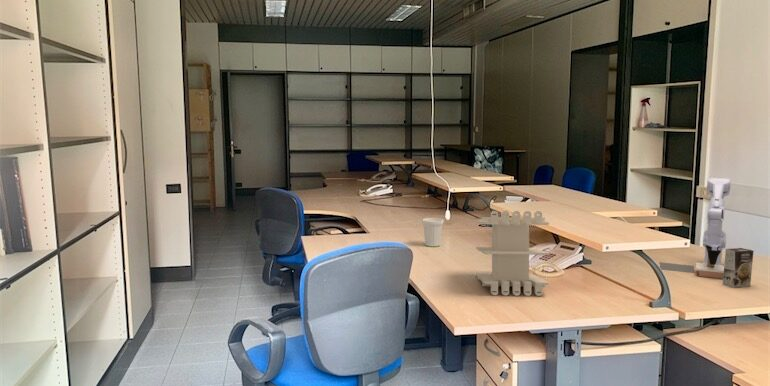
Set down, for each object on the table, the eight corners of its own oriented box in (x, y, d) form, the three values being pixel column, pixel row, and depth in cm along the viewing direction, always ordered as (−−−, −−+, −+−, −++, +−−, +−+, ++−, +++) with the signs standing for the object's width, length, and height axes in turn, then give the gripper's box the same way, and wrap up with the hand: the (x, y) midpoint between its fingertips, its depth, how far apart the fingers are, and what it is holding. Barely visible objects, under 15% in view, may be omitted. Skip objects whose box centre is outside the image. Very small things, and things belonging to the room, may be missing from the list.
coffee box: (734, 288, 239) (737, 251, 237) (721, 284, 245) (724, 248, 243) (751, 286, 242) (754, 250, 240) (738, 282, 248) (741, 247, 246)
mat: (659, 263, 281) (659, 262, 281) (693, 266, 275) (693, 265, 275) (659, 270, 268) (659, 269, 268) (694, 273, 261) (695, 273, 261)
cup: (419, 247, 317) (420, 220, 315) (424, 242, 329) (424, 217, 327) (441, 248, 314) (441, 222, 312) (445, 243, 326) (445, 218, 324)
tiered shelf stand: (484, 295, 228) (484, 210, 229) (475, 285, 259) (475, 210, 260) (549, 296, 227) (549, 211, 228) (532, 286, 258) (532, 211, 259)
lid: (695, 264, 266) (696, 254, 265) (724, 267, 260) (725, 257, 260) (696, 269, 255) (696, 259, 255) (726, 273, 250) (727, 262, 249)
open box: (698, 272, 265) (698, 264, 264) (722, 274, 260) (723, 267, 260) (699, 277, 256) (699, 269, 255) (724, 279, 251) (725, 272, 251)
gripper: (703, 230, 264) (701, 258, 265) (705, 235, 251) (703, 265, 253) (720, 231, 261) (718, 259, 262) (723, 237, 248) (720, 266, 249)
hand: (711, 262), depth 257 cm, fingers open, 7 cm apart
